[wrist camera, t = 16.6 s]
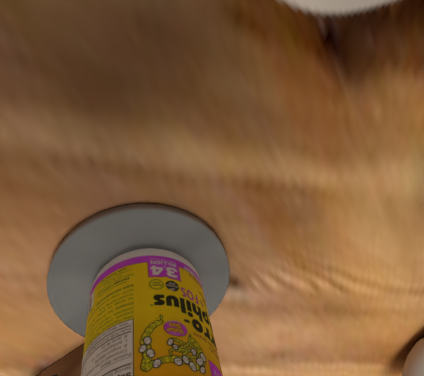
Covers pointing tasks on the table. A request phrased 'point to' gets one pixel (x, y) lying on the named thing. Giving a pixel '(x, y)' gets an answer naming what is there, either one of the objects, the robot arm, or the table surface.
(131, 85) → the table surface
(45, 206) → the table surface
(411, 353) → the donut
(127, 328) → the supplement bottle
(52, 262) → the slate coaster
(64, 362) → the walnut book stand
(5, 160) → the table surface
